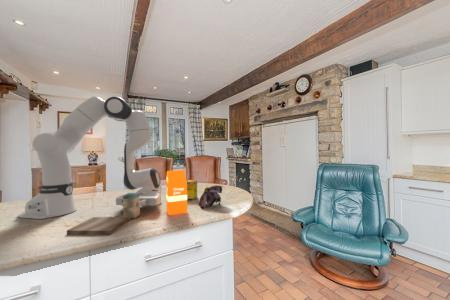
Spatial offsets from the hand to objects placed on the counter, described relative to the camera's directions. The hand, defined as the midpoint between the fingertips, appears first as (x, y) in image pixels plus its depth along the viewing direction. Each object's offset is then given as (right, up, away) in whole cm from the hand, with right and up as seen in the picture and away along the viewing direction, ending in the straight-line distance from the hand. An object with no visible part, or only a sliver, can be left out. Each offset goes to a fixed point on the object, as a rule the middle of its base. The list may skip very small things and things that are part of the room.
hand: (130, 204), depth 92 cm
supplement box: (+22, -5, +32) cm, 39 cm away
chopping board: (-7, -6, -10) cm, 14 cm away
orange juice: (+19, -6, +8) cm, 21 cm away
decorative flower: (+35, -5, +17) cm, 39 cm away
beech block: (0, -6, +1) cm, 6 cm away
